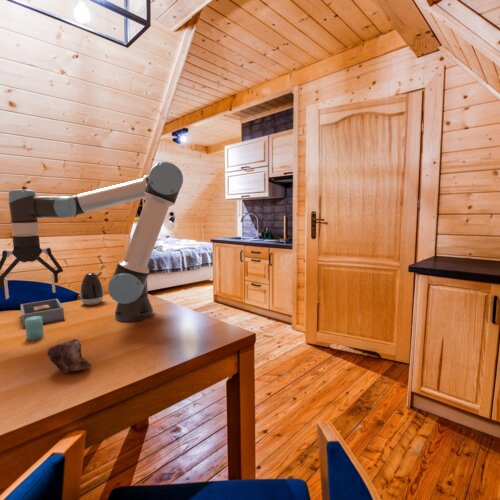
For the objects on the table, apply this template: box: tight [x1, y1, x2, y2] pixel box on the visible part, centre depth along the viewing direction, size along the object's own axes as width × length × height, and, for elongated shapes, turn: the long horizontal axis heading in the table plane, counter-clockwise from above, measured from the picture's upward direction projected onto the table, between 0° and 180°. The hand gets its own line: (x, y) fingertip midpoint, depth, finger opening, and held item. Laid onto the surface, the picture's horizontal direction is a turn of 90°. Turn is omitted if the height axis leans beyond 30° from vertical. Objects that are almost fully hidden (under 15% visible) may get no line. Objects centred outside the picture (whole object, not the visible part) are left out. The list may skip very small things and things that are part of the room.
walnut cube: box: [33, 305, 50, 312], centre depth 128 cm, size 5×5×5 cm
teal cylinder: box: [24, 316, 45, 341], centre depth 110 cm, size 5×5×7 cm
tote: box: [19, 298, 65, 328], centre depth 131 cm, size 18×14×5 cm
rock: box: [46, 339, 92, 374], centre depth 88 cm, size 12×9×10 cm
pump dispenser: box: [79, 272, 105, 306], centre depth 150 cm, size 10×10×15 cm
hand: (31, 294), depth 111 cm, fingers open, 13 cm apart
